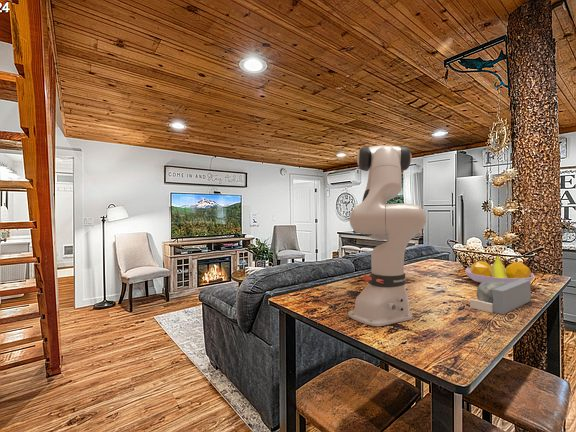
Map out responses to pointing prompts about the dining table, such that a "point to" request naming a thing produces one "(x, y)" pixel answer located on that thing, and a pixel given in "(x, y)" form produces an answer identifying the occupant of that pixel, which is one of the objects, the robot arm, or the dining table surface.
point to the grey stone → (488, 290)
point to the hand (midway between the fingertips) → (419, 234)
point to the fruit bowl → (499, 272)
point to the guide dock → (506, 298)
